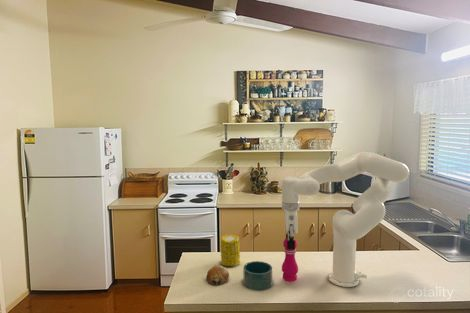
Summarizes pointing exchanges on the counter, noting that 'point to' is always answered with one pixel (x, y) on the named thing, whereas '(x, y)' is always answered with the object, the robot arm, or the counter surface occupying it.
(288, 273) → the pepper mill
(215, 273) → the bread roll
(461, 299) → the counter surface
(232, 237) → the food
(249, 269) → the pot
